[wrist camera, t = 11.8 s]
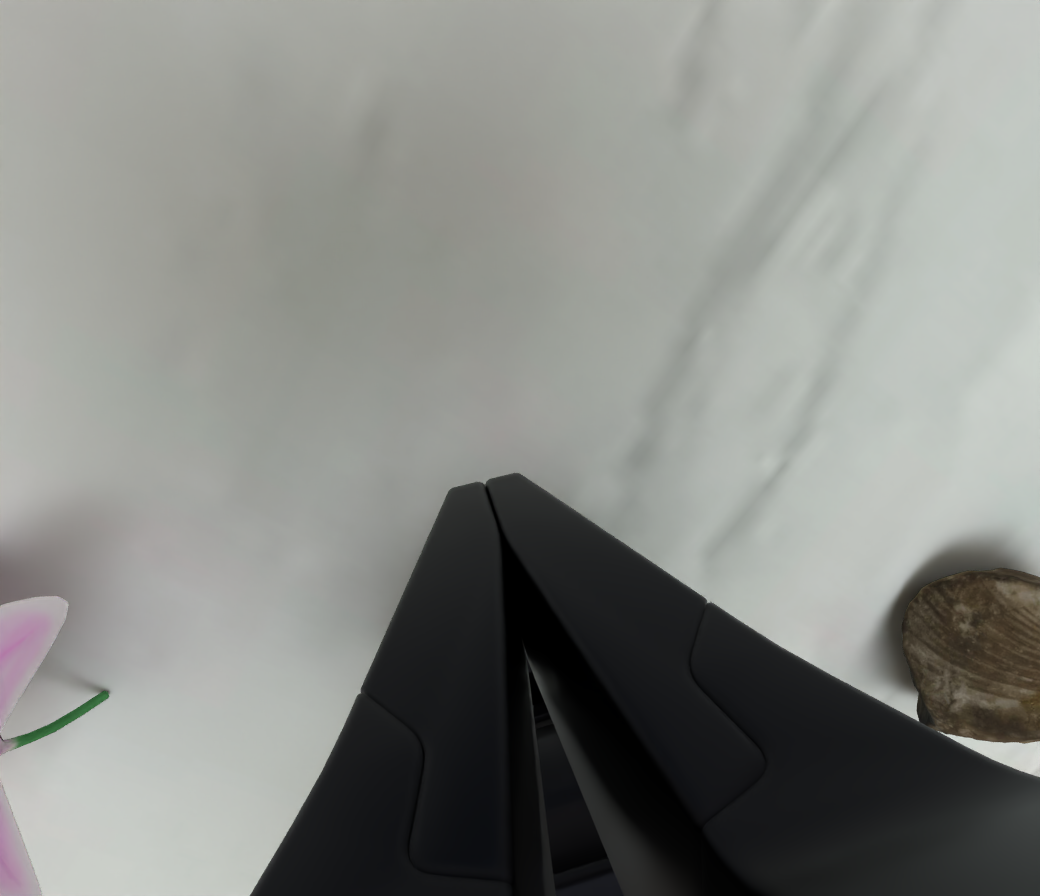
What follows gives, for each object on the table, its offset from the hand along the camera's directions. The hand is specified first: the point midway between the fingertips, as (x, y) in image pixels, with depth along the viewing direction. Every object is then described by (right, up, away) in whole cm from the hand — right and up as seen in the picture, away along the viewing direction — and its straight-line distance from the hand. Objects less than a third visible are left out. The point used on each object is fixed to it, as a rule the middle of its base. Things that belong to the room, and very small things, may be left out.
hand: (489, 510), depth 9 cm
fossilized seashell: (+20, -7, +24) cm, 32 cm away
